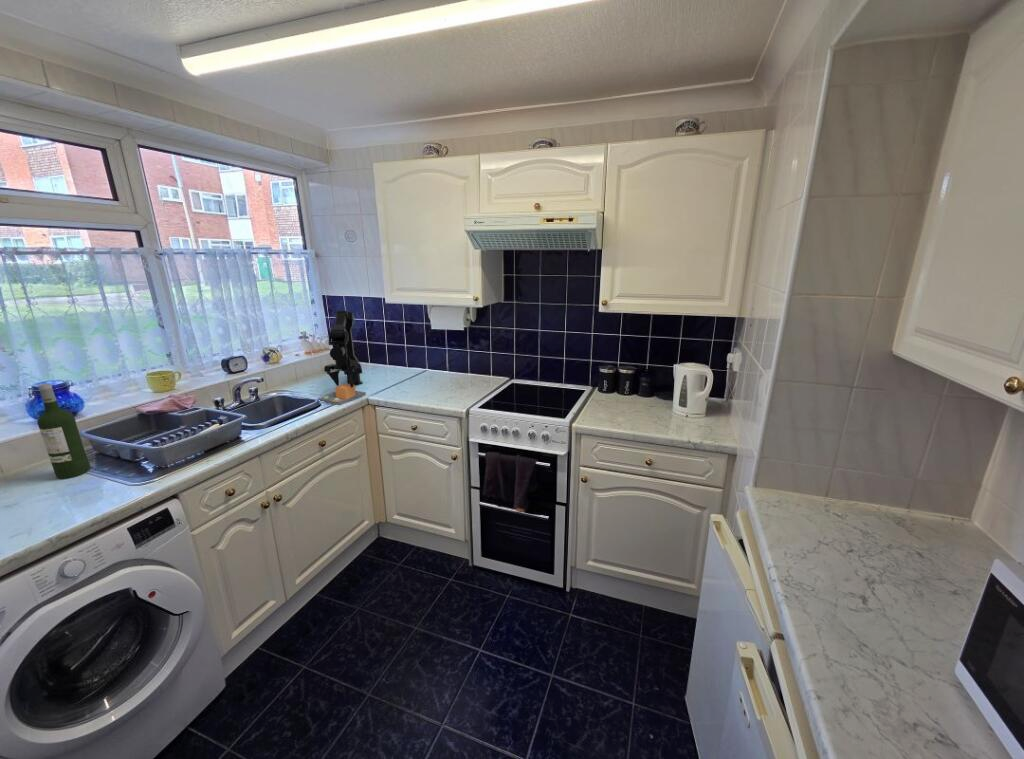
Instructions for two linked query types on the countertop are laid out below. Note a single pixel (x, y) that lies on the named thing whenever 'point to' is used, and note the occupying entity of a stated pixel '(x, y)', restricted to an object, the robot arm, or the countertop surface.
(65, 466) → the wine bottle
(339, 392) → the lockout cap
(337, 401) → the grey flat panel
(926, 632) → the countertop surface
